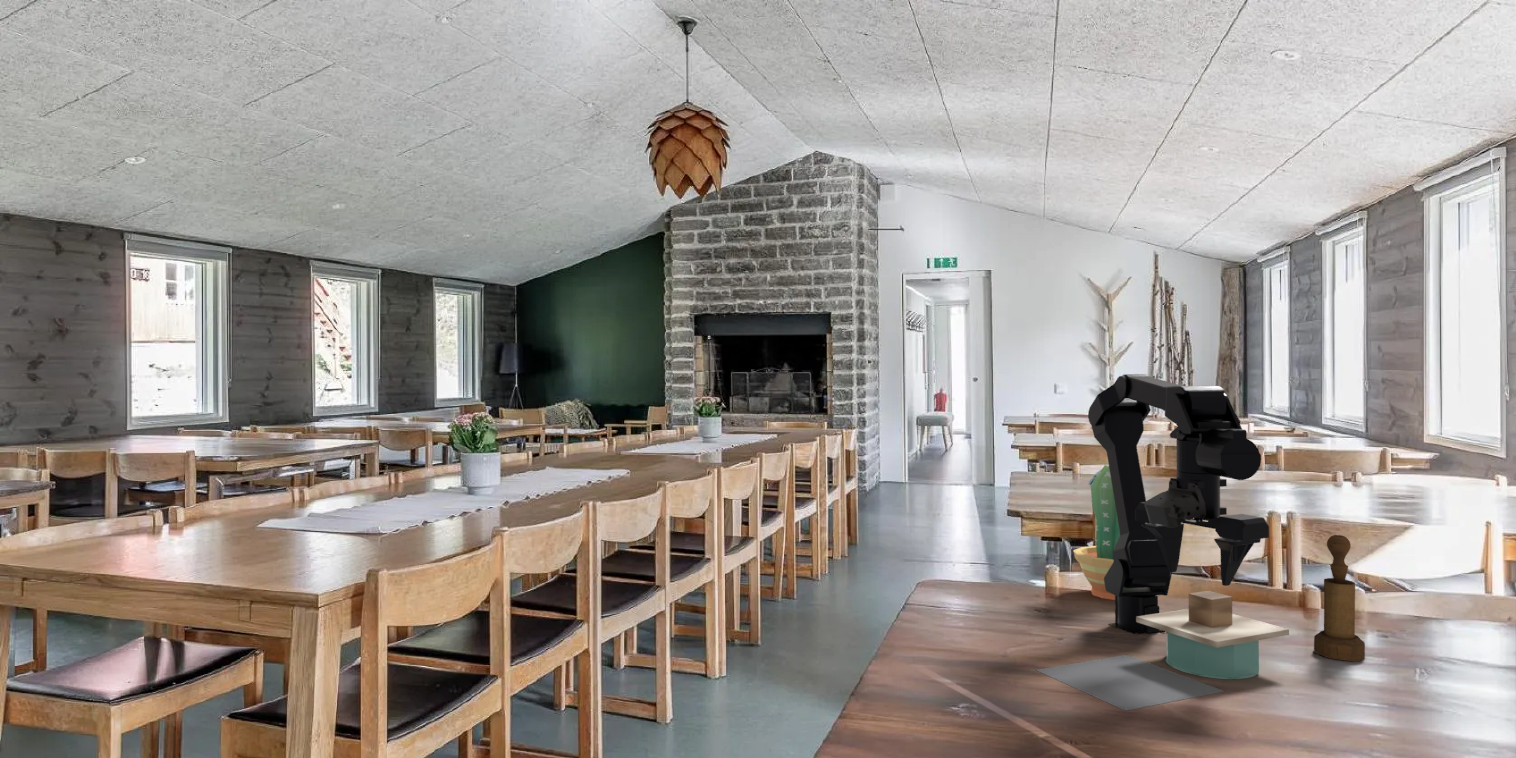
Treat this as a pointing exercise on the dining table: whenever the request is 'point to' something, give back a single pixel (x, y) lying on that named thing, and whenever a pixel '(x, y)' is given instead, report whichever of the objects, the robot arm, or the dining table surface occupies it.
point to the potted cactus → (1100, 534)
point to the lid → (1212, 622)
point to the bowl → (1213, 658)
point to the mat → (1128, 682)
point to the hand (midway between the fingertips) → (1198, 578)
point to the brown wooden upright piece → (1339, 609)
